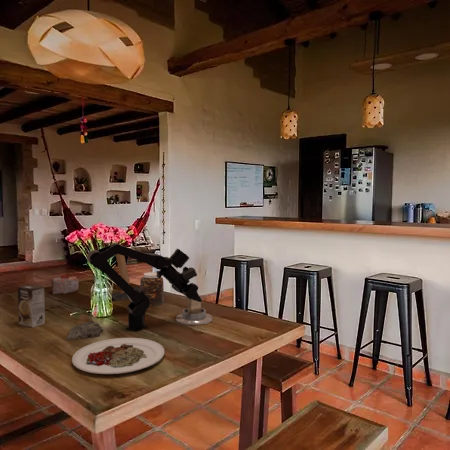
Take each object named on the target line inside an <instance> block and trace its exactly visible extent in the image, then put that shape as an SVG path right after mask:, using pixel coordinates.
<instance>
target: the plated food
mask: <svg viewBox="0 0 450 450" xmlns="http://www.w3.org/2000/svg"><path fill="white" fill-rule="evenodd" d="M164 355H165V348H164V346H163V345H161V344H160V343H159V342H156V341H154V340H151V339H146V338H141V337H117V338H110V339H103V340H100V341H95V342H93V343H90V344H88V345H87V344H86V345H85V346H83V347H81V348H80V349H78V350H77V351H76V352H75V353H74V354H73V356H72V357H71V358H72V359H71V362H72V364H73V367H75V368H77V369H78V370H81V371H83V372H87V373H91V374H99V375H118V374H126V373H132V372H137V371H139V370H143V369H146V368H148V367H151V366H154V365H155V364H157V363H158V362H160V361H161V360H162V359H163V357H164Z"/></svg>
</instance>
